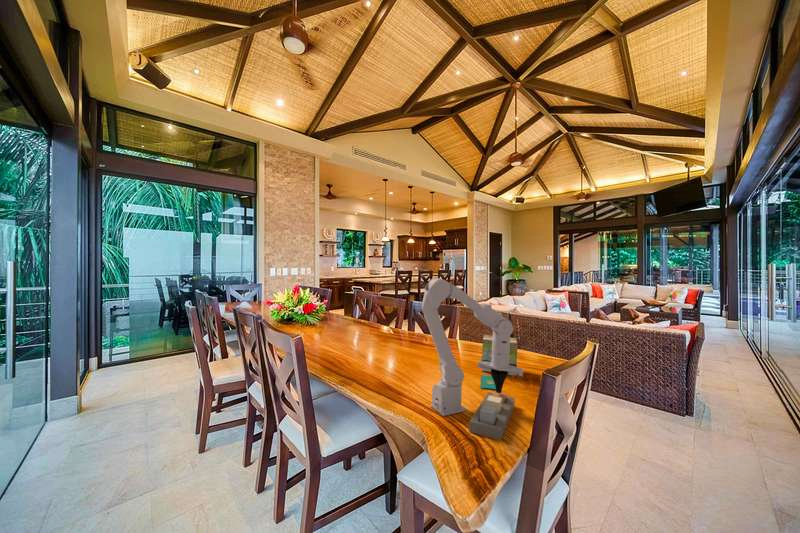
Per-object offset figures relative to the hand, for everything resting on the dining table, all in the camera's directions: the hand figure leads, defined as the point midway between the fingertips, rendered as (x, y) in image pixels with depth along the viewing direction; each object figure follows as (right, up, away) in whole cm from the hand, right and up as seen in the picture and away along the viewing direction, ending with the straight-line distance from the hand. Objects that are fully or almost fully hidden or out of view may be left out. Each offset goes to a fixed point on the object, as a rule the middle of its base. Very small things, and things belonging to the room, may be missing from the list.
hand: (499, 392), depth 109 cm
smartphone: (+3, -5, +22) cm, 23 cm away
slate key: (-8, -4, -14) cm, 16 cm away
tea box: (+11, -5, +37) cm, 39 cm away
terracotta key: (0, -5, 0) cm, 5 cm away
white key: (-4, -4, -7) cm, 9 cm away
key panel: (-4, -6, -7) cm, 10 cm away
